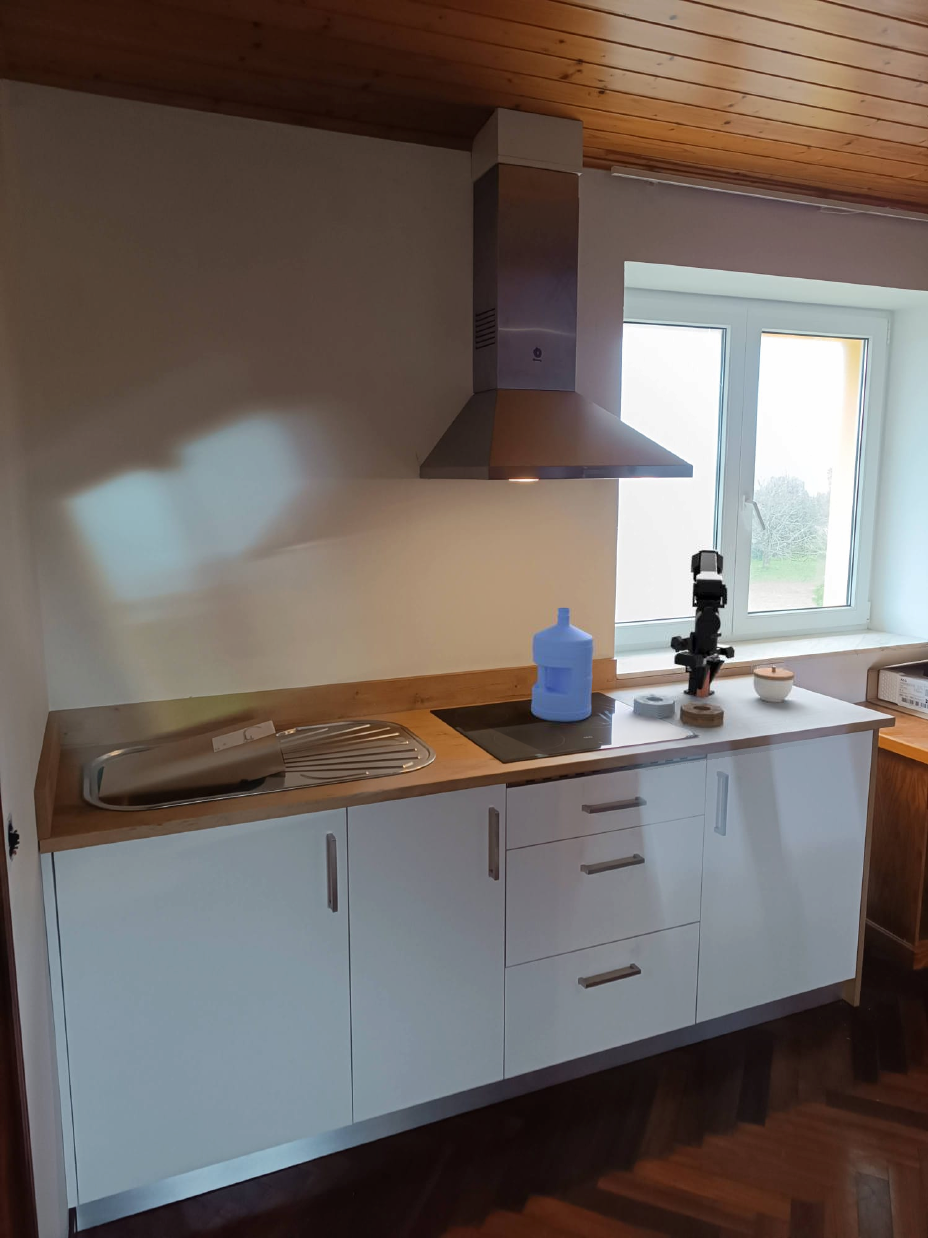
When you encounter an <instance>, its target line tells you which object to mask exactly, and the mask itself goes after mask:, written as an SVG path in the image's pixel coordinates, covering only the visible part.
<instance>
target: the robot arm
mask: <svg viewBox="0 0 928 1238" xmlns="http://www.w3.org/2000/svg"><path fill="white" fill-rule="evenodd" d="M723 571H724V556H723V555H722V554H719V550H717V549H713V548H712V549H710V548H709V549H707V548H701V549H699V550H698V552H697V553H694V554H693V555H691V562H690V573H693V574H692V579H693V583H692V584H693V585H692V601H691V602H692V604H691V605H692V608H696V609H695V614H694V615H695V617H694V618H695V619H694V630H693V631H692V630H691V631H690V633H689V636H688V637H684V638H683V637H682V636H681V635H675V636H672V637H671V639H670V648H671V649H672V650H674V652H675V653H676V654H675V655H674V657H673V659H674V660H673V661H674V662H673V663H674V665H676V666H677V665H679V666H681V667H682V666H683V667H685V668H684V671H685V674H687V673H688V682H687V683H688V686H687V687H688V688H687V689H684V690H683V693H686V694H691V695H694V696H697V689H699V690H702V688H703V685H704V683H705V680H706V677H707V674H708V671H709V669H710V675H709V692H708V696H709V695H712V694H715V690H711V684H712V682H713V680H714V678H715V677H716V675H717V674H719V671H720V669H721V667H722V666H723V664H725V663H726V662H725V661H726V660H723V659H721V657H720V656H725V658H726V659H728V660H729V659H732V658H735V651H736V650H735V649H734V647H733V646H732V645H727V644H721V643H718V639H719V638H720V637H722V631H720V629H721V617H720V609H725V605H728V587H727V584H726V583H724V582H723V577H722V575H721V574H723Z"/></svg>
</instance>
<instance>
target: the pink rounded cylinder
mask: <svg viewBox="0 0 928 1238" xmlns="http://www.w3.org/2000/svg"><path fill="white" fill-rule="evenodd" d="M709 675H710V669H709V671H708V674H707V677H706V680H705V683H704V685H703V688H702V690H699V689H697V695H696V696H697V697H698V698H703V699H704V698H708V697H709V695H708V692H709Z"/></svg>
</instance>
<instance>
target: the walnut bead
mask: <svg viewBox="0 0 928 1238" xmlns="http://www.w3.org/2000/svg"><path fill="white" fill-rule="evenodd" d="M679 708H680V709H679V721H680V722H682V724H684V725H686V726H687V725H688V726H691V727H695V728H717V727H719V726H722V725H724V714H725V713H724V712H725V711H724V709H723V708H722V707H721V706H719V705H716V704H712V703H707V702H688V703H684V704H681V705H680V707H679Z"/></svg>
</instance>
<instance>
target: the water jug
mask: <svg viewBox="0 0 928 1238" xmlns="http://www.w3.org/2000/svg"><path fill="white" fill-rule="evenodd" d="M570 611H571V608H569V607H557V622H556V623H555V624H553V625H552V626H549V627H547V628H545V629H543V630H540V631H538V632H536V633H535V634H534V635H533V637H532V638H533V639H532V661H533V662H534V664H536V665H537V680H536V683H535V684H533V685H532V687H531V689H532V690H531V703H530V704H531V705H530V710H531V713H532V714H533V715H534V716H535V717H536V718H538V719H542V720H545V721H550V722H558V723H559V722H560V723H562V722H563V723H565V722H570V723H571V722H578V721H582V720H585V719H587V718H589V717H590V715H592V685H593V657H594V655H593V654H594V638H593V636H592V634H590V633H588V632H586V631H584V630H582V629H580V628H578V627H576V626H574V625H572V624H571V622H570V617H571V615H570Z"/></svg>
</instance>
